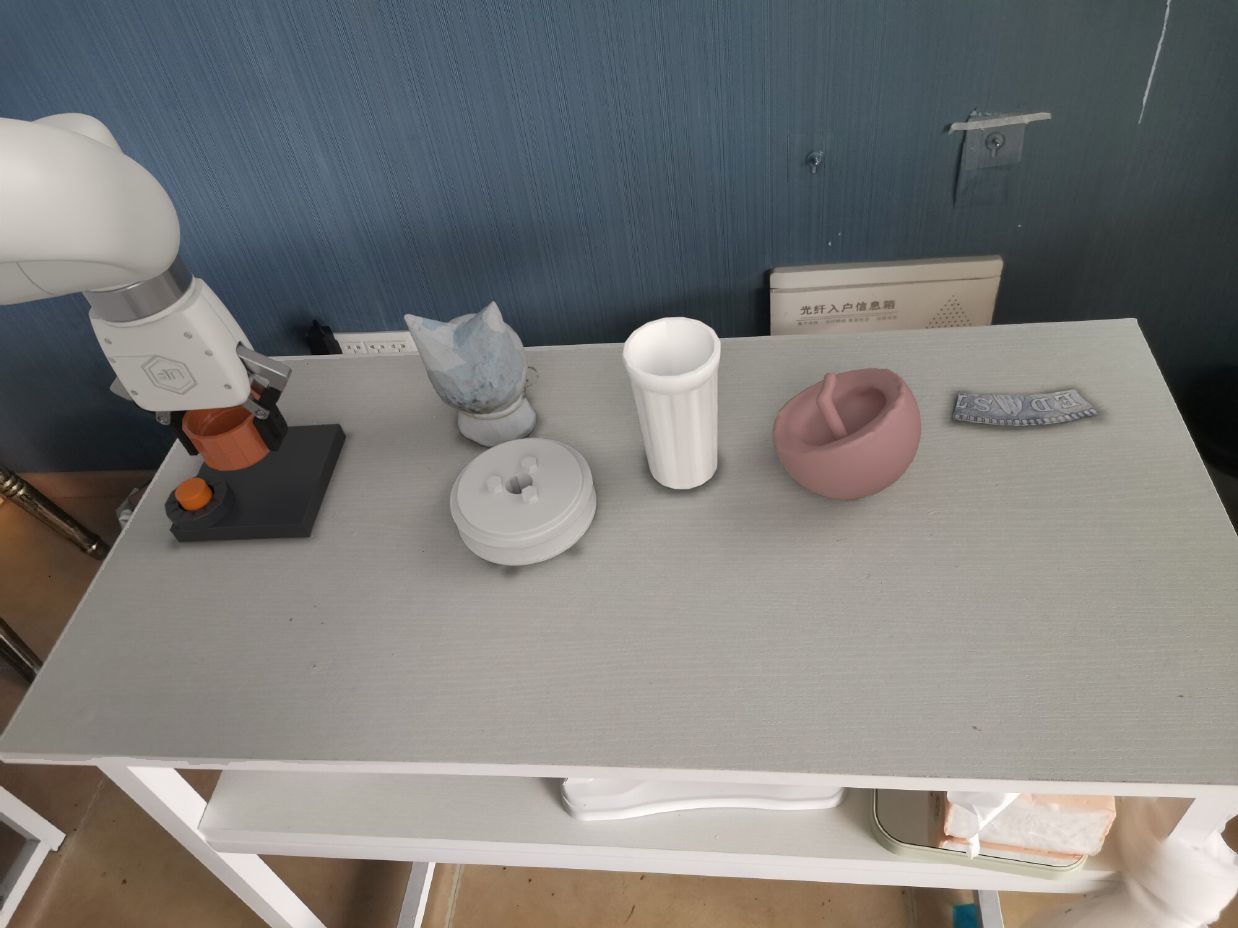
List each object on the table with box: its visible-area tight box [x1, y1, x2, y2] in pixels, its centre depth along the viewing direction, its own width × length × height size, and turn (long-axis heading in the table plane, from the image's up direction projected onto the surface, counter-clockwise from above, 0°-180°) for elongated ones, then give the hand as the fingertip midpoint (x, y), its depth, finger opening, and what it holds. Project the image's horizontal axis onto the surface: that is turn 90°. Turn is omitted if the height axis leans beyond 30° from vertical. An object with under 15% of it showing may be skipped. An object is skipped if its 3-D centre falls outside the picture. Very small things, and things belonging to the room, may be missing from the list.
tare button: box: [175, 477, 213, 511], centre depth 82 cm, size 3×3×2 cm
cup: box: [621, 316, 722, 490], centre depth 76 cm, size 8×8×14 cm
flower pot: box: [182, 389, 270, 471], centre depth 80 cm, size 7×7×4 cm
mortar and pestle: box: [772, 367, 922, 501], centre depth 74 cm, size 12×12×11 cm
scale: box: [164, 423, 347, 543], centre depth 85 cm, size 13×13×4 cm
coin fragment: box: [952, 388, 1101, 427], centre depth 81 cm, size 13×5×1 cm, turn 85°
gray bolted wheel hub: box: [449, 437, 597, 566], centre depth 78 cm, size 13×13×5 cm
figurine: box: [403, 300, 540, 448], centre depth 84 cm, size 10×9×15 cm
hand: (239, 441), depth 81 cm, fingers closed on flower pot, 7 cm apart
